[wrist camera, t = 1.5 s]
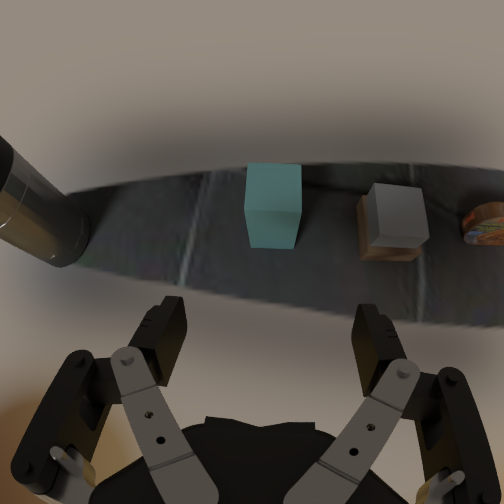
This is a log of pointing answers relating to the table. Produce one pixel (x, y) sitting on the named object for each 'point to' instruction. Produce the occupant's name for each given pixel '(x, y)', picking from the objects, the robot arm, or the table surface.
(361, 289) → the table surface
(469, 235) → the tin
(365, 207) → the tower base
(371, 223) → the tower top
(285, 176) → the block
